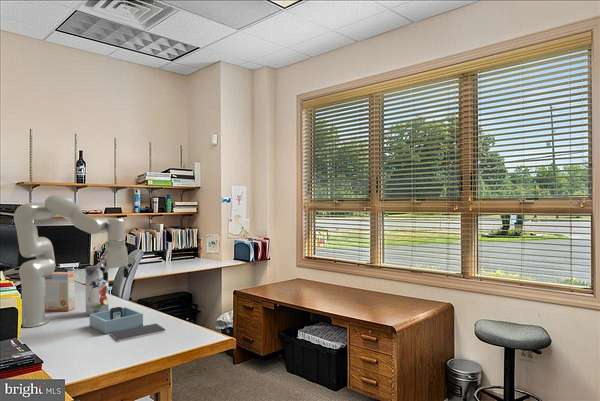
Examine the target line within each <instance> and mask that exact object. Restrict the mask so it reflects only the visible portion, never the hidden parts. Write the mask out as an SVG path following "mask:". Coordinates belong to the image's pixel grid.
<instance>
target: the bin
mask: <svg viewBox="0 0 600 401" xmlns="http://www.w3.org/2000/svg"><path fill="white" fill-rule="evenodd" d="M140 326H144V313H143V312H141V311H137V310H136V309H132V308H130V307H127V306H124V307H122V317H121V318H117V319H112V320H110V309H108V311H103V312H98V313H93V314H90V315H89V328H91V329H94V330H96V331H98V332H99V333H101V334H103V335H105V336H106V335H111V334H110V332H114V331H119V330H125V329H130V328H135V327H140Z"/></svg>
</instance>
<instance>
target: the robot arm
mask: <svg viewBox="0 0 600 401" xmlns="http://www.w3.org/2000/svg"><path fill="white" fill-rule="evenodd" d="M58 216H59V217H62V218H63V219H66V220H67V221H69V222H70V223H71V224H72V225H73V226H74V227H75V228H77V229H79V230H81V231H83V232H86V233H87V234H90V235H97V234H98V235H99V234H105V233H106V234H107V238H106V239H107V240H106V241H104V245H105V246H106V247H105V250H104V259H102V260H101V261H99V262H97V264H96V265H98V267H99V269H100V270H101V271H102V272H103V279H104V280H106V281H108V282H109V269H115V268H123V278H126V279H128V277H129V271H130V268H131V267H132V266H133V263H134V259H132V258H130V257H129V255H128V254H129V253H128V248H127V245H125V219H123V218H121V217H119V218H118V217H112V218H109V217H95V218H94V217H92V216H89V215H87V214H86V213H83V207H82V205H80V204H78V203H76V202H74V200H73V198H72V197H71V196H68V195H66V194H63V195H61V194H59V195H58V194H55V195H49V196H48V197H47V198H46V199H45V200H44V202H26V203H23V204H21V205H20V206H18V207H17V208H16V210H15V211H14V215H13V221H14V222H13V223H14V225H15V228H16V229H15V230H16V235H17V242H18V243H17V244H18V248H19V254H20V255H21V256H22V257H23V258H27V259H28V258H29V259H30V258H35V259H31V260H27V261H26V262H23V263H22V264H21V265H20V266H19V269H18V273H19V274H18V275H19V278H20V284H21V316H22V326H23V327H22V328H24V327H27V328H35V327H39V326H40V327H41V326H44V325H45V324H48V323H49V319H48V318H46V317H45V316H46V315H45V312H46V311H45V282H43V279H42V278H45V276H48V275H51V274H52V273H53V272H55V271H56V270H55V269H56V258H55V252H54V246H53V244H52V241H51V240H50V239H49V238H47V237H45V236H39V233H38V227H37V226H36V224H35V223H34V221H35V220H38V221H39V220H47V219H51V218H54V217H58ZM102 264H103V265H104V266H105V267H104V268H103V267H102ZM107 271H108V272H107Z"/></svg>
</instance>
